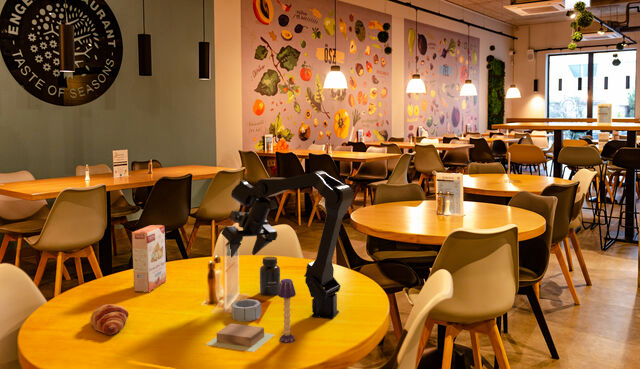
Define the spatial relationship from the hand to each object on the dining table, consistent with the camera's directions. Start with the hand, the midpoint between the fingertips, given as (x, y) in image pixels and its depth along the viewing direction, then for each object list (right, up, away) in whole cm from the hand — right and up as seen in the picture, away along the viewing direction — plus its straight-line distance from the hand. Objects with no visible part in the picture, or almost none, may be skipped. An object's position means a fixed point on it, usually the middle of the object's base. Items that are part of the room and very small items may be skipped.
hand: (242, 255), depth 181 cm
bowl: (+4, -16, -16) cm, 23 cm away
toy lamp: (+17, -18, -35) cm, 43 cm away
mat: (+4, -18, -34) cm, 39 cm away
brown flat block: (+4, -18, -34) cm, 38 cm away
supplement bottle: (+8, -14, +7) cm, 18 cm away
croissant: (-35, -18, -21) cm, 44 cm away
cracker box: (-34, -13, +16) cm, 40 cm away
